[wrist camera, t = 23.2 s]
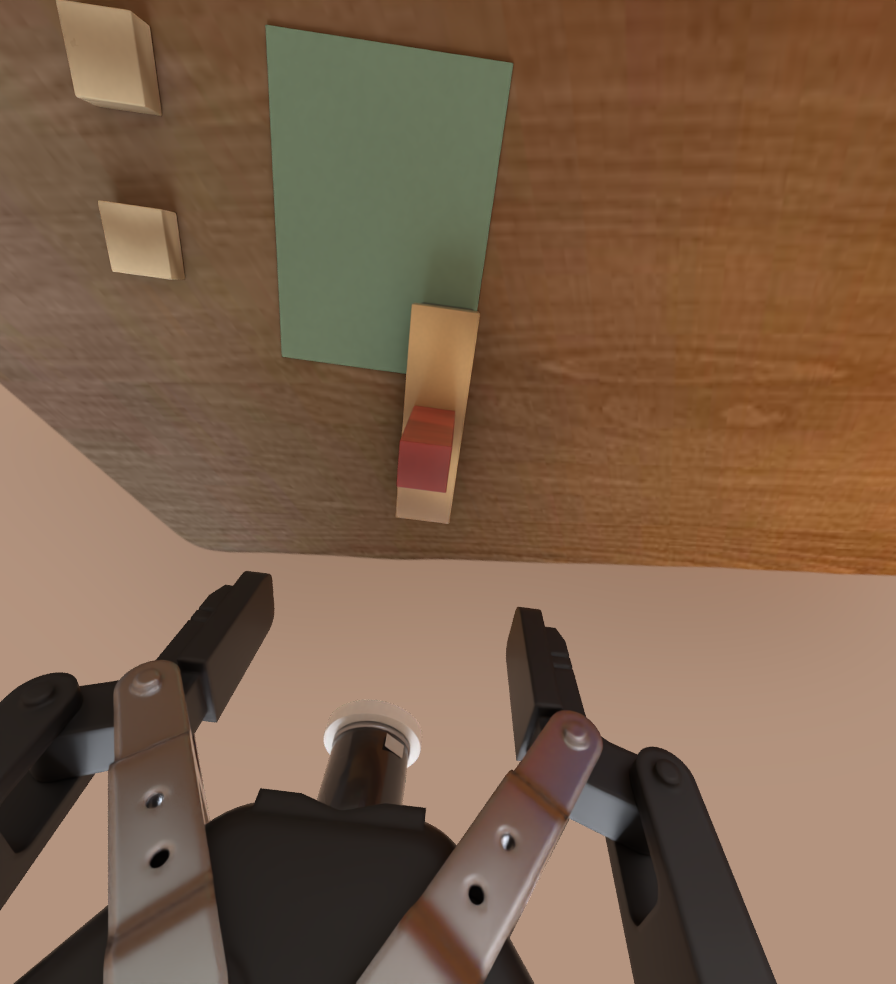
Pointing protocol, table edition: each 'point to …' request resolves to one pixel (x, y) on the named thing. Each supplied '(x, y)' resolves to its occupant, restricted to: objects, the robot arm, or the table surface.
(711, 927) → the robot arm
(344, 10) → the table surface
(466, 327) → the brush
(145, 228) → the chip
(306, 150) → the mat
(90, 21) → the chip
